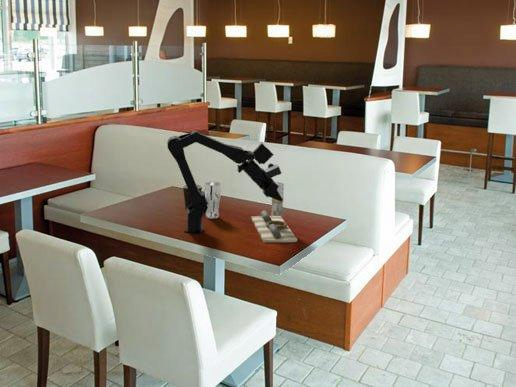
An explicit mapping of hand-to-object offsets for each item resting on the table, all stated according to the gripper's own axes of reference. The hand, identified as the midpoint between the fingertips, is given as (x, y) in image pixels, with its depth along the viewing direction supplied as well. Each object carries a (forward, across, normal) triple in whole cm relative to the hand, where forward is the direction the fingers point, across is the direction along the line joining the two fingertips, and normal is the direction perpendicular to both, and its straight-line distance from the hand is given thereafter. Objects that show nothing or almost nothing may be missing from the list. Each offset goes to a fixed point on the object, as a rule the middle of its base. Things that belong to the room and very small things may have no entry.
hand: (280, 199), depth 235 cm
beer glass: (-9, +19, +28) cm, 35 cm away
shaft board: (+7, 0, +11) cm, 13 cm away
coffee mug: (-15, +33, +34) cm, 50 cm away
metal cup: (+4, 0, +6) cm, 7 cm away
